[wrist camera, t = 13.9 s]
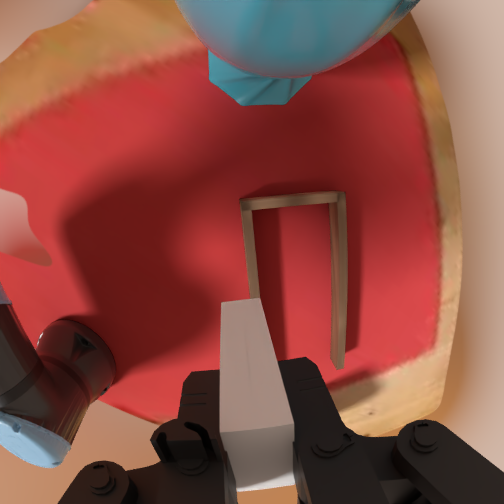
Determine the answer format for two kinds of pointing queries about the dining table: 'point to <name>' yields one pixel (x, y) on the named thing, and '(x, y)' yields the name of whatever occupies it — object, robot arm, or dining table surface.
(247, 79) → the vase
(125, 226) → the dining table surface
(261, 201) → the walnut frame
